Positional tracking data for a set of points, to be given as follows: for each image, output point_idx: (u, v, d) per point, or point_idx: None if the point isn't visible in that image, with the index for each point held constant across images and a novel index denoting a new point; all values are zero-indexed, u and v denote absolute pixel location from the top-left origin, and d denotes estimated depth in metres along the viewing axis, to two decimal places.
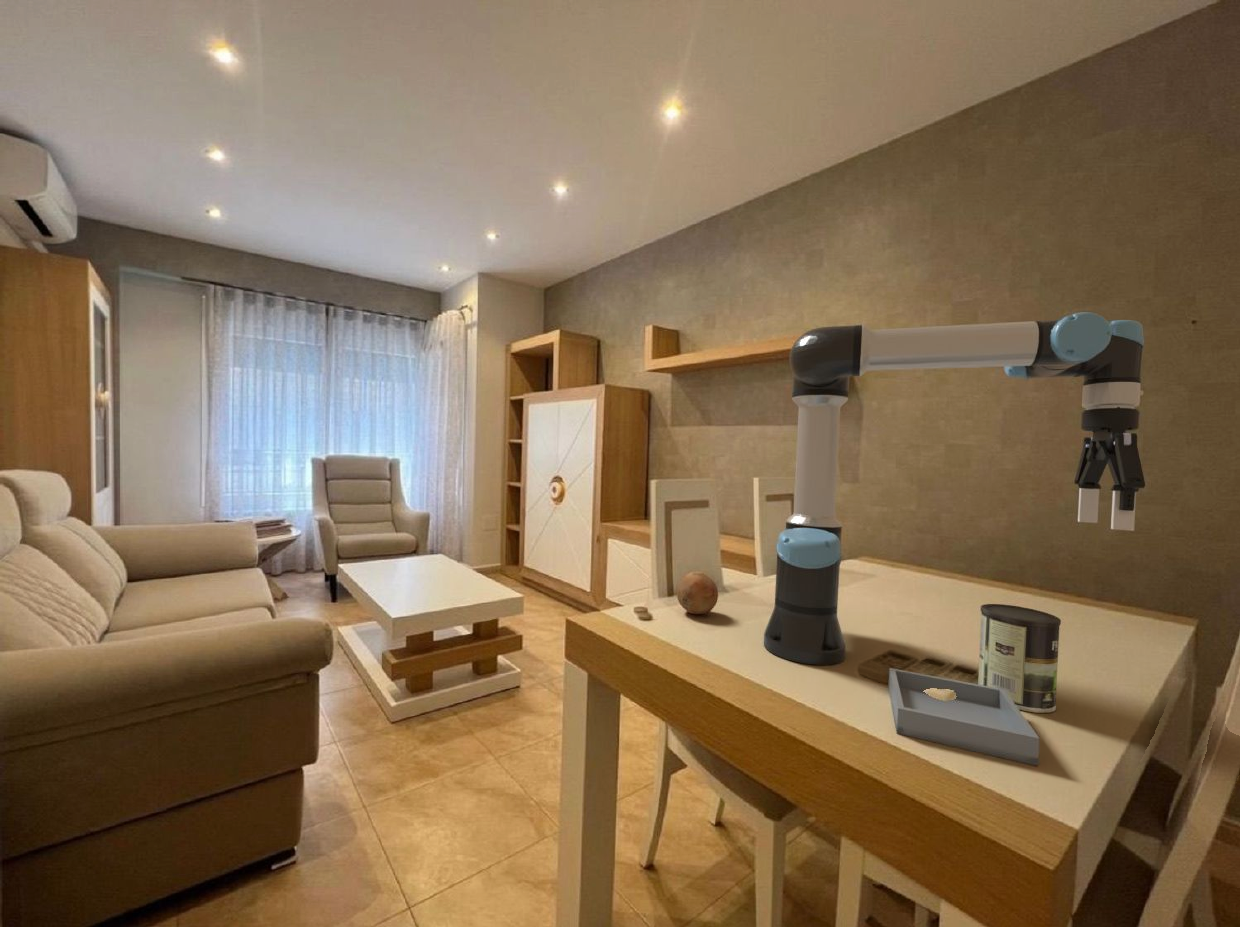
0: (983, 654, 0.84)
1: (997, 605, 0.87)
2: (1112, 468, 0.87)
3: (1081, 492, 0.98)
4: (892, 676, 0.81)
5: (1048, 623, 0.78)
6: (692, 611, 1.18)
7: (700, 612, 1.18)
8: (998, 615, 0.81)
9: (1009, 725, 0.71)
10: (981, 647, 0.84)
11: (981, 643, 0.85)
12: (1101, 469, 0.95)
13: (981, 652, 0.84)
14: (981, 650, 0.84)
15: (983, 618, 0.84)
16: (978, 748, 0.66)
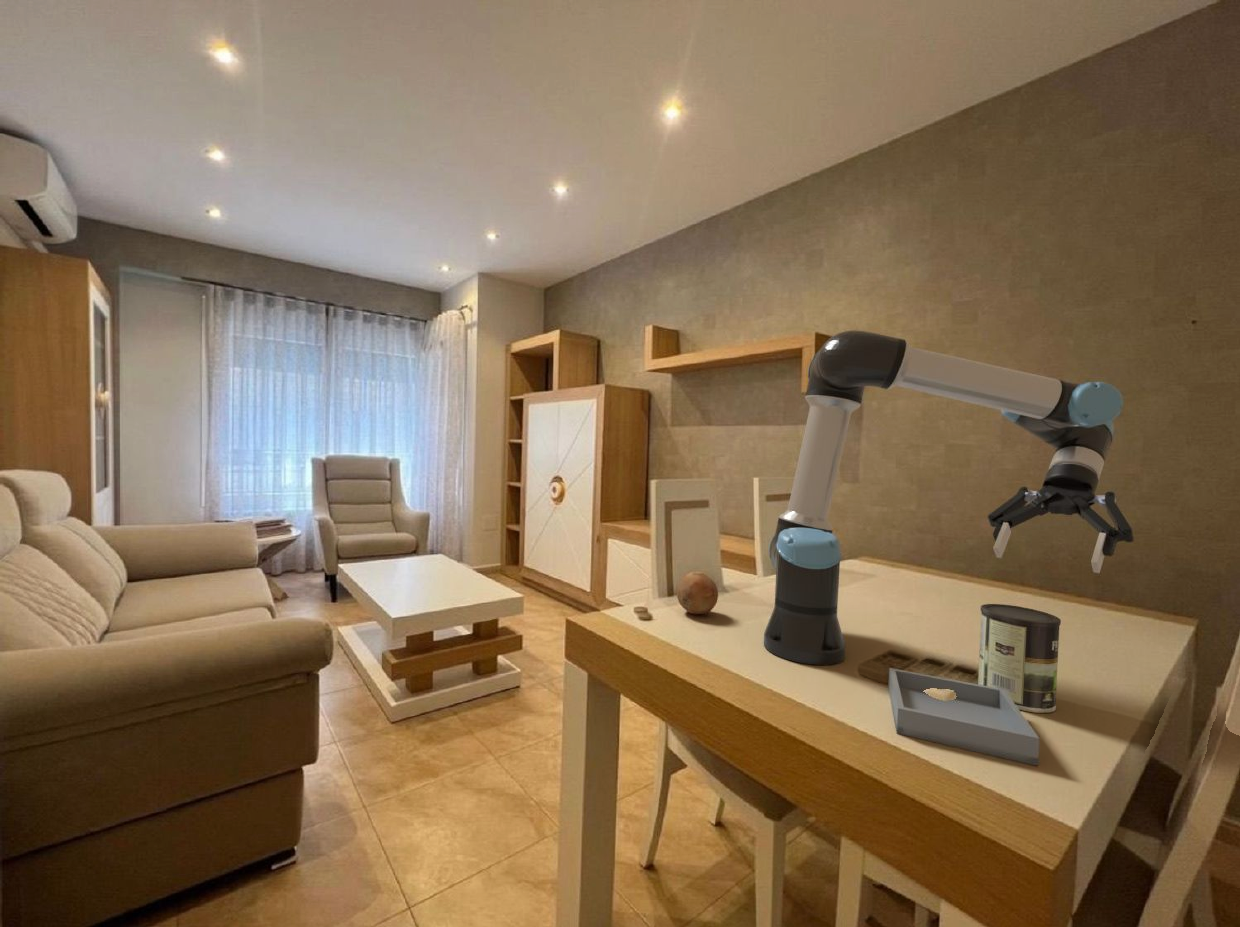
0: (983, 654, 0.84)
1: (997, 605, 0.87)
2: (1097, 515, 0.88)
3: (1006, 526, 0.96)
4: (892, 676, 0.81)
5: (1048, 623, 0.78)
6: (692, 611, 1.18)
7: (700, 612, 1.18)
8: (998, 615, 0.81)
9: (1009, 725, 0.71)
10: (981, 647, 0.84)
11: (981, 643, 0.85)
12: (1029, 517, 0.97)
13: (981, 652, 0.84)
14: (981, 650, 0.84)
15: (983, 618, 0.84)
16: (978, 748, 0.66)
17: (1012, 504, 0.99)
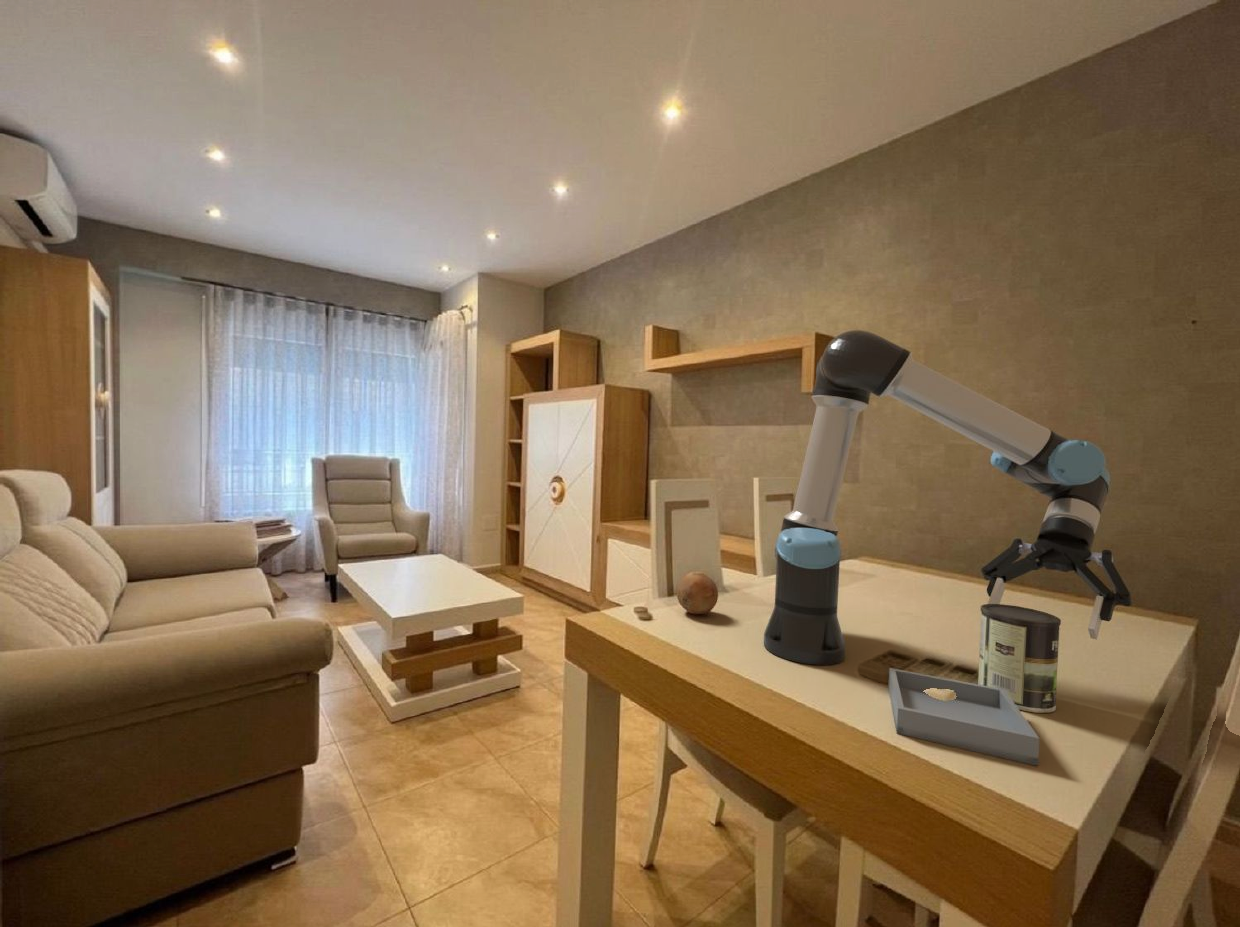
0: (983, 654, 0.84)
1: (997, 605, 0.87)
2: (1094, 576, 0.85)
3: (1000, 582, 0.93)
4: (892, 676, 0.81)
5: (1048, 623, 0.78)
6: (692, 611, 1.18)
7: (700, 612, 1.18)
8: (998, 615, 0.81)
9: (1009, 725, 0.71)
10: (981, 647, 0.84)
11: (981, 643, 0.85)
12: (1023, 572, 0.94)
13: (981, 652, 0.84)
14: (981, 650, 0.84)
15: (983, 618, 0.84)
16: (978, 748, 0.66)
17: (1006, 557, 0.96)
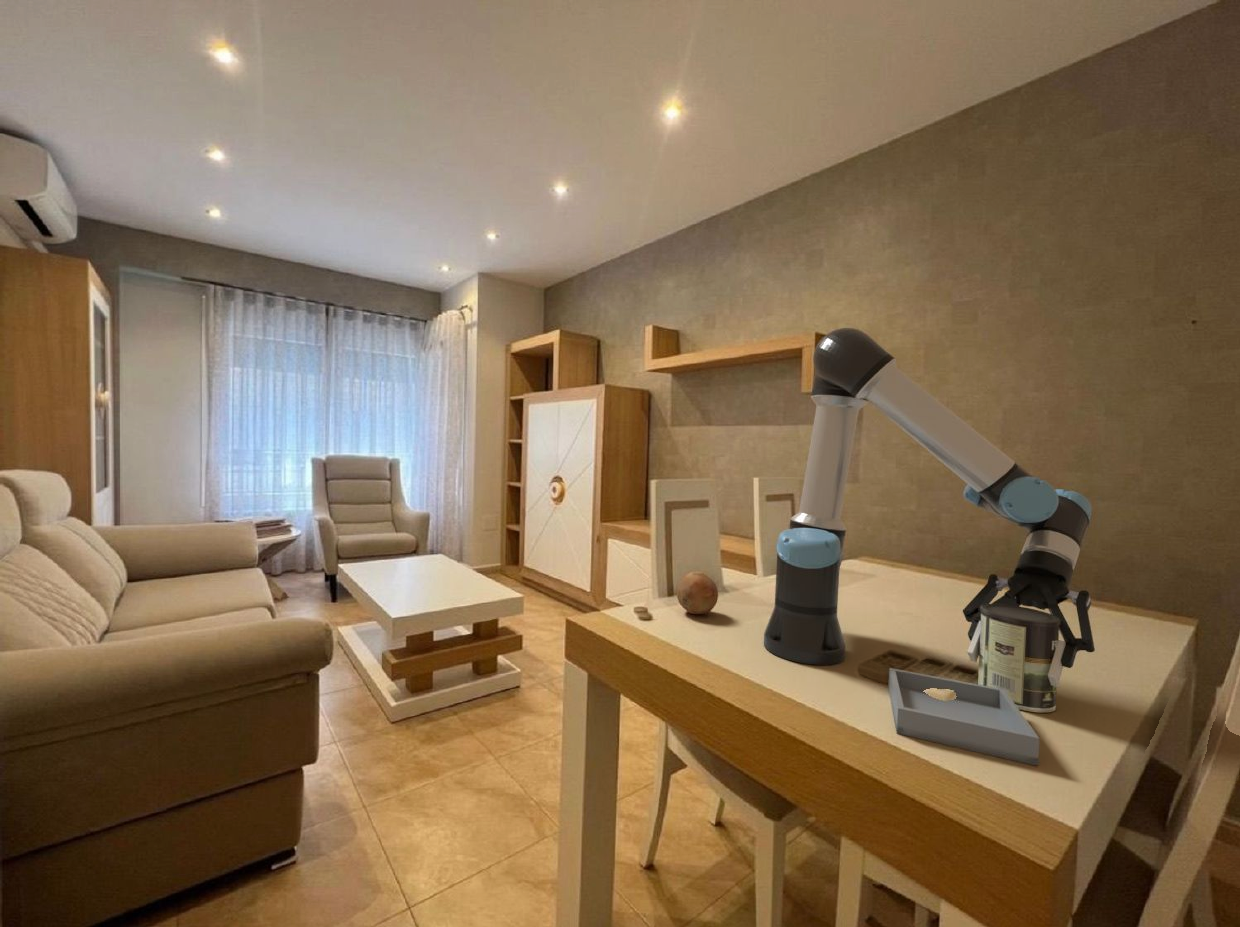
0: (983, 653, 0.84)
1: (997, 605, 0.87)
2: (1062, 618, 0.81)
3: None
4: (892, 676, 0.81)
5: (1048, 623, 0.78)
6: (692, 611, 1.18)
7: (700, 612, 1.18)
8: (998, 615, 0.81)
9: (1009, 725, 0.71)
10: (981, 647, 0.84)
11: (981, 643, 0.85)
12: None
13: (981, 652, 0.84)
14: (981, 650, 0.84)
15: (983, 618, 0.84)
16: (978, 748, 0.66)
17: (985, 596, 0.91)
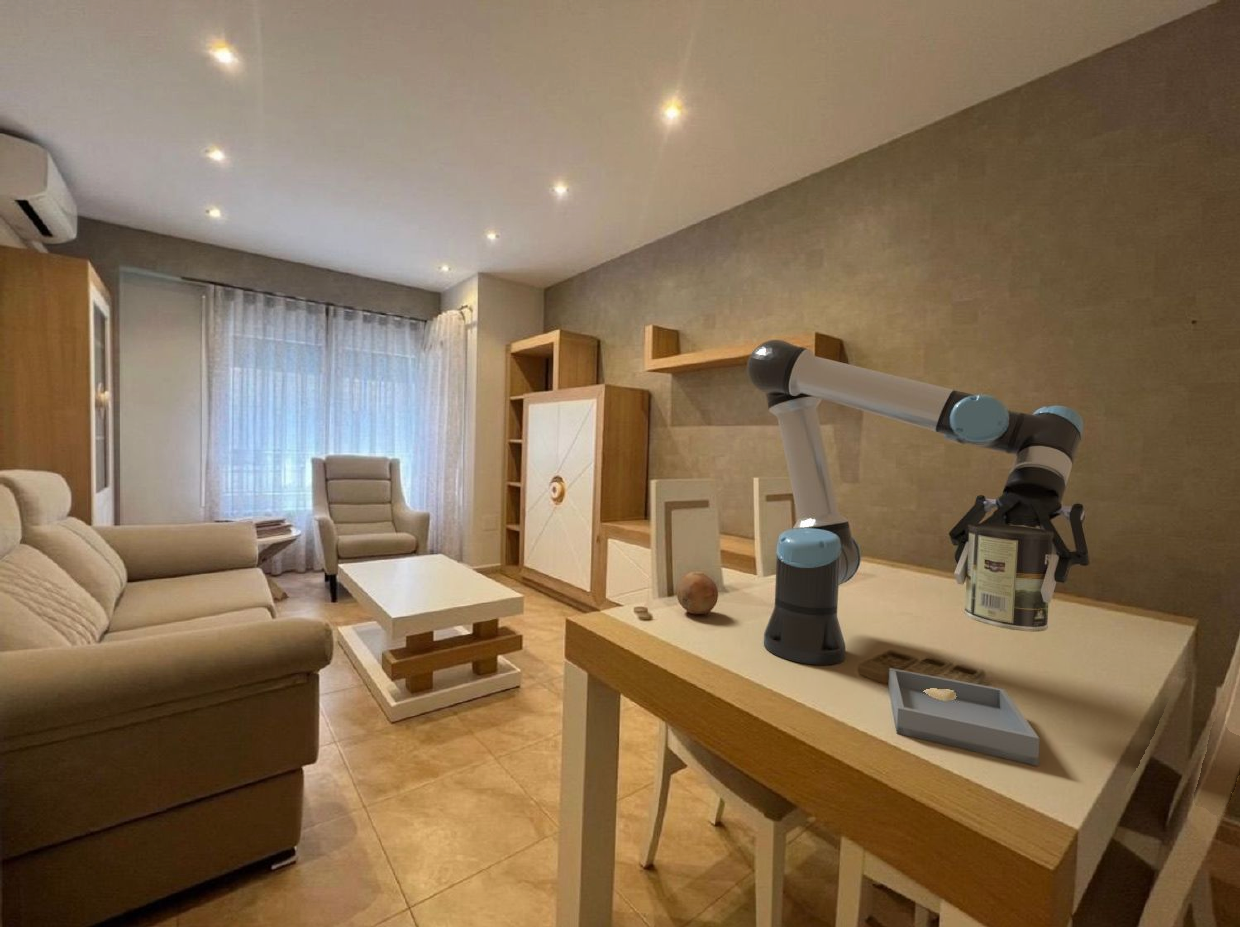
0: (971, 574, 0.78)
1: (985, 524, 0.81)
2: (1055, 532, 0.75)
3: None
4: (892, 676, 0.81)
5: (1041, 535, 0.72)
6: (692, 611, 1.18)
7: (700, 612, 1.18)
8: (988, 530, 0.75)
9: (1009, 725, 0.71)
10: (969, 567, 0.78)
11: (969, 563, 0.79)
12: None
13: (969, 573, 0.78)
14: (969, 571, 0.78)
15: (971, 536, 0.78)
16: (978, 748, 0.66)
17: (973, 517, 0.85)
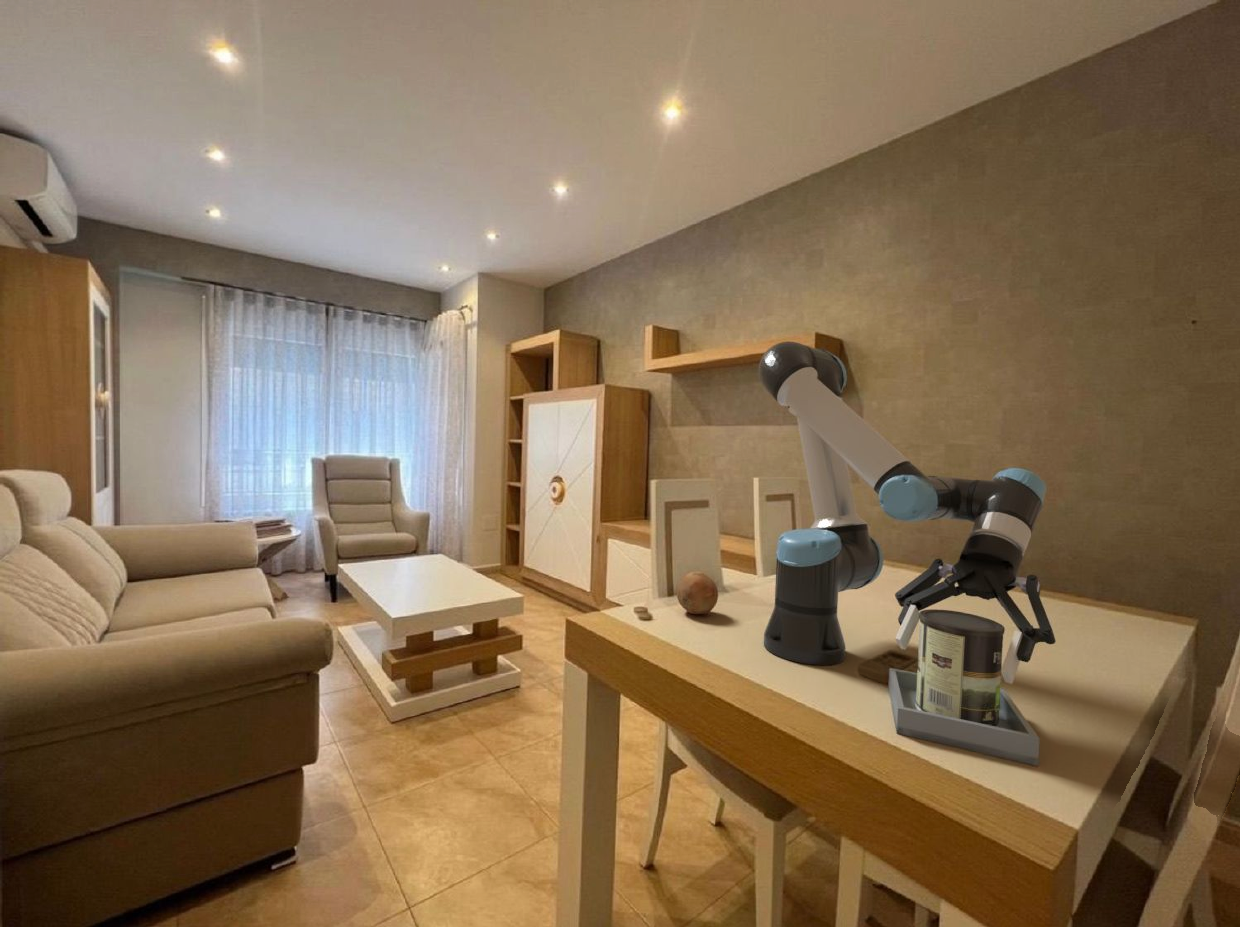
0: (920, 665, 0.74)
1: (939, 611, 0.78)
2: (1015, 606, 0.72)
3: (913, 610, 0.79)
4: (892, 676, 0.81)
5: (989, 632, 0.68)
6: (692, 611, 1.18)
7: (700, 612, 1.18)
8: (935, 622, 0.72)
9: (1009, 725, 0.71)
10: (919, 658, 0.75)
11: (919, 654, 0.75)
12: (941, 598, 0.80)
13: (918, 664, 0.75)
14: (919, 661, 0.75)
15: (921, 625, 0.75)
16: (978, 748, 0.66)
17: (923, 581, 0.82)
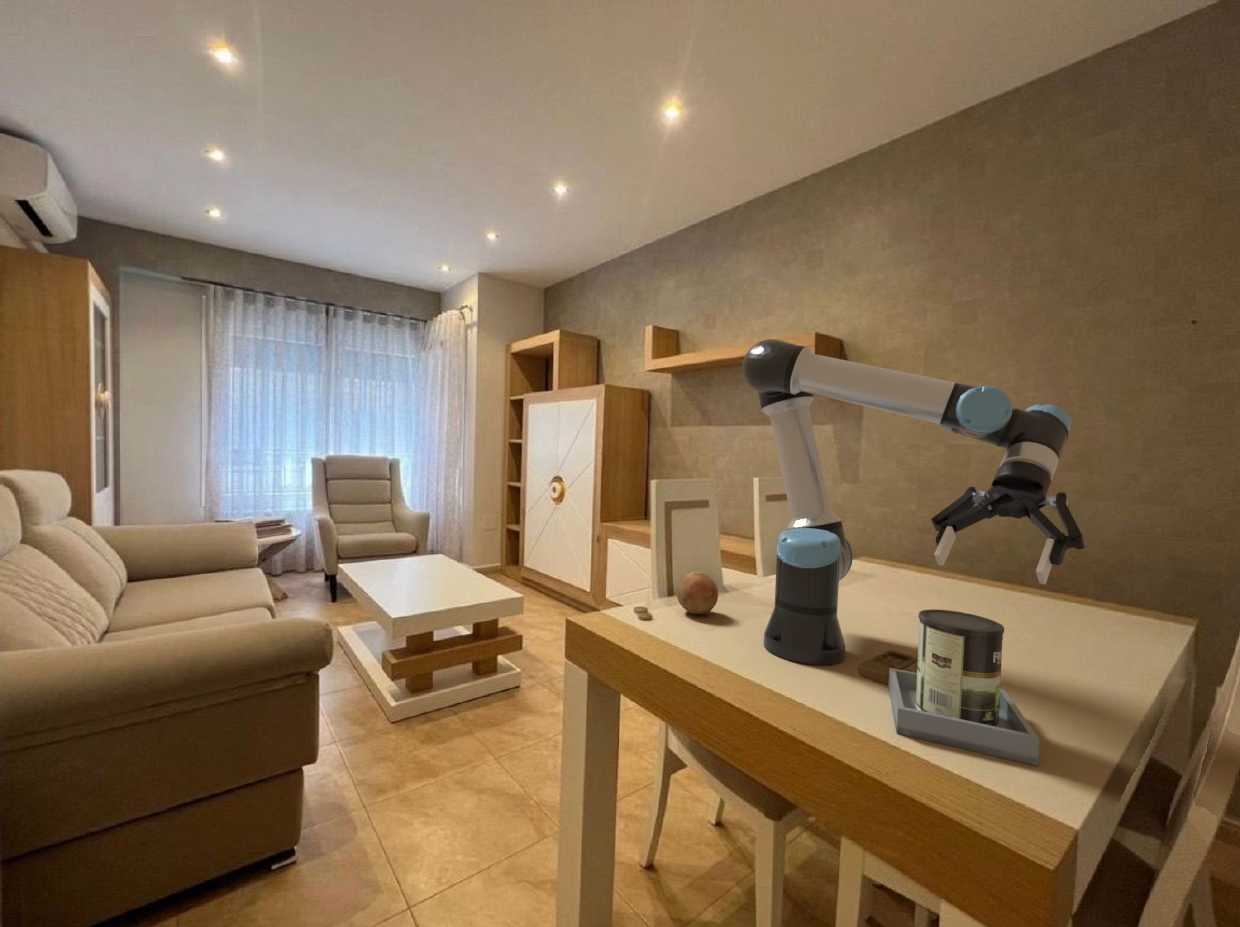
0: (920, 666, 0.74)
1: (938, 611, 0.78)
2: (1046, 519, 0.78)
3: (950, 530, 0.86)
4: (892, 676, 0.81)
5: (988, 632, 0.69)
6: (692, 611, 1.18)
7: (700, 612, 1.18)
8: (935, 622, 0.72)
9: (1009, 725, 0.71)
10: (918, 658, 0.75)
11: (918, 654, 0.75)
12: (975, 520, 0.87)
13: (918, 664, 0.75)
14: (918, 661, 0.75)
15: (920, 626, 0.75)
16: (978, 748, 0.66)
17: (958, 506, 0.89)
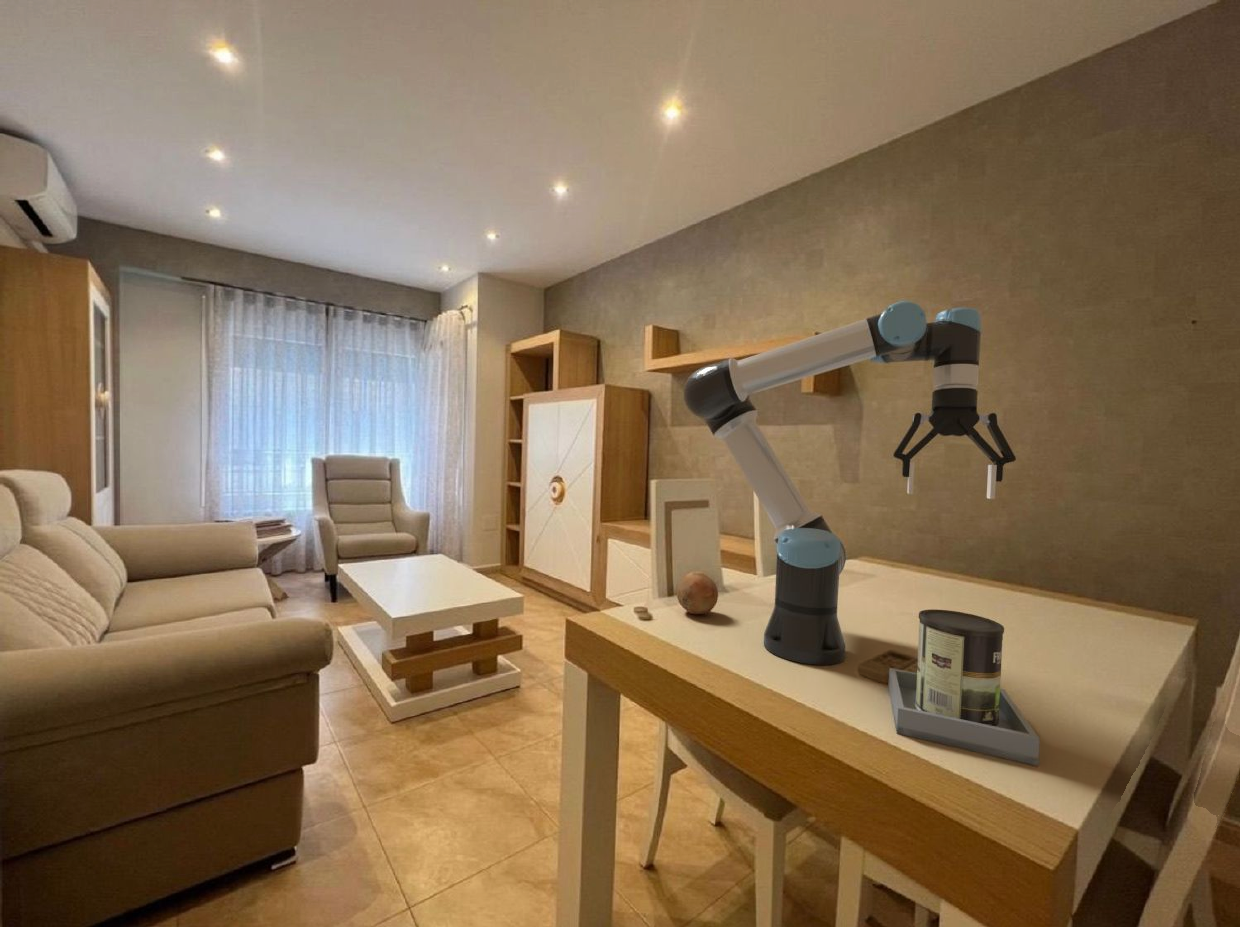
0: (920, 666, 0.74)
1: (938, 611, 0.78)
2: (987, 444, 0.97)
3: (913, 465, 1.02)
4: (892, 676, 0.81)
5: (988, 632, 0.68)
6: (692, 611, 1.18)
7: (700, 612, 1.18)
8: (934, 623, 0.72)
9: (1009, 725, 0.71)
10: (918, 658, 0.75)
11: (918, 654, 0.75)
12: None
13: (918, 664, 0.75)
14: (918, 662, 0.75)
15: (920, 626, 0.75)
16: (978, 748, 0.66)
17: (912, 436, 1.02)
